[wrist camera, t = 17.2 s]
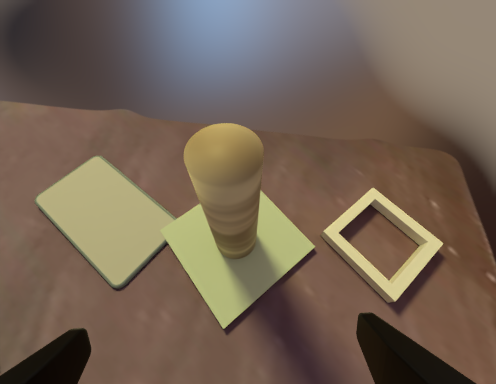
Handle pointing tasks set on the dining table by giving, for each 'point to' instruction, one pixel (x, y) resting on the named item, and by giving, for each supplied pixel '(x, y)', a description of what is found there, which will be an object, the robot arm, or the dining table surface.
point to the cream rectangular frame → (365, 269)
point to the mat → (236, 270)
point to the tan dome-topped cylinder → (227, 184)
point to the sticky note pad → (106, 219)
